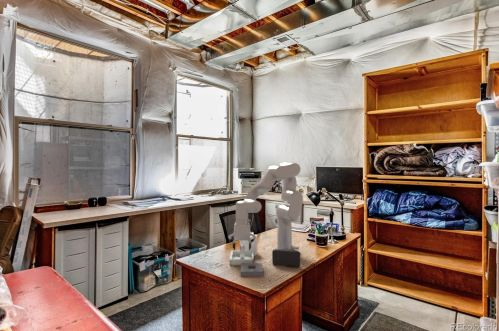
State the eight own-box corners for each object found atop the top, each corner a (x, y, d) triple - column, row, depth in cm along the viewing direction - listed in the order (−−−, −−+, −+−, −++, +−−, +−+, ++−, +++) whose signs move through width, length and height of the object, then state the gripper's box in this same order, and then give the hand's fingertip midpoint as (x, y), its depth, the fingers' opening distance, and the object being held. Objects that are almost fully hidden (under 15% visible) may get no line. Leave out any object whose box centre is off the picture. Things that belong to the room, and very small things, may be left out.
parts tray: (253, 256, 179) (253, 250, 179) (253, 266, 163) (253, 259, 163) (231, 256, 179) (231, 250, 179) (229, 266, 163) (229, 259, 163)
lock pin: (244, 258, 172) (244, 244, 172) (244, 260, 169) (244, 245, 169) (239, 258, 172) (239, 244, 172) (239, 260, 169) (239, 245, 169)
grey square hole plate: (262, 268, 160) (262, 263, 160) (263, 277, 148) (263, 271, 148) (241, 268, 160) (241, 262, 160) (240, 277, 148) (240, 271, 148)
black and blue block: (300, 265, 164) (300, 249, 164) (300, 268, 160) (300, 251, 160) (273, 262, 168) (273, 247, 168) (272, 265, 163) (272, 249, 163)
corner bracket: (255, 255, 180) (255, 237, 180) (238, 254, 183) (238, 236, 182) (258, 250, 191) (258, 232, 190) (242, 249, 193) (242, 232, 193)
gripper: (256, 220, 174) (256, 247, 174) (228, 220, 174) (228, 247, 174) (256, 222, 166) (256, 251, 167) (227, 222, 166) (227, 251, 167)
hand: (242, 249), depth 171 cm, fingers open, 8 cm apart
